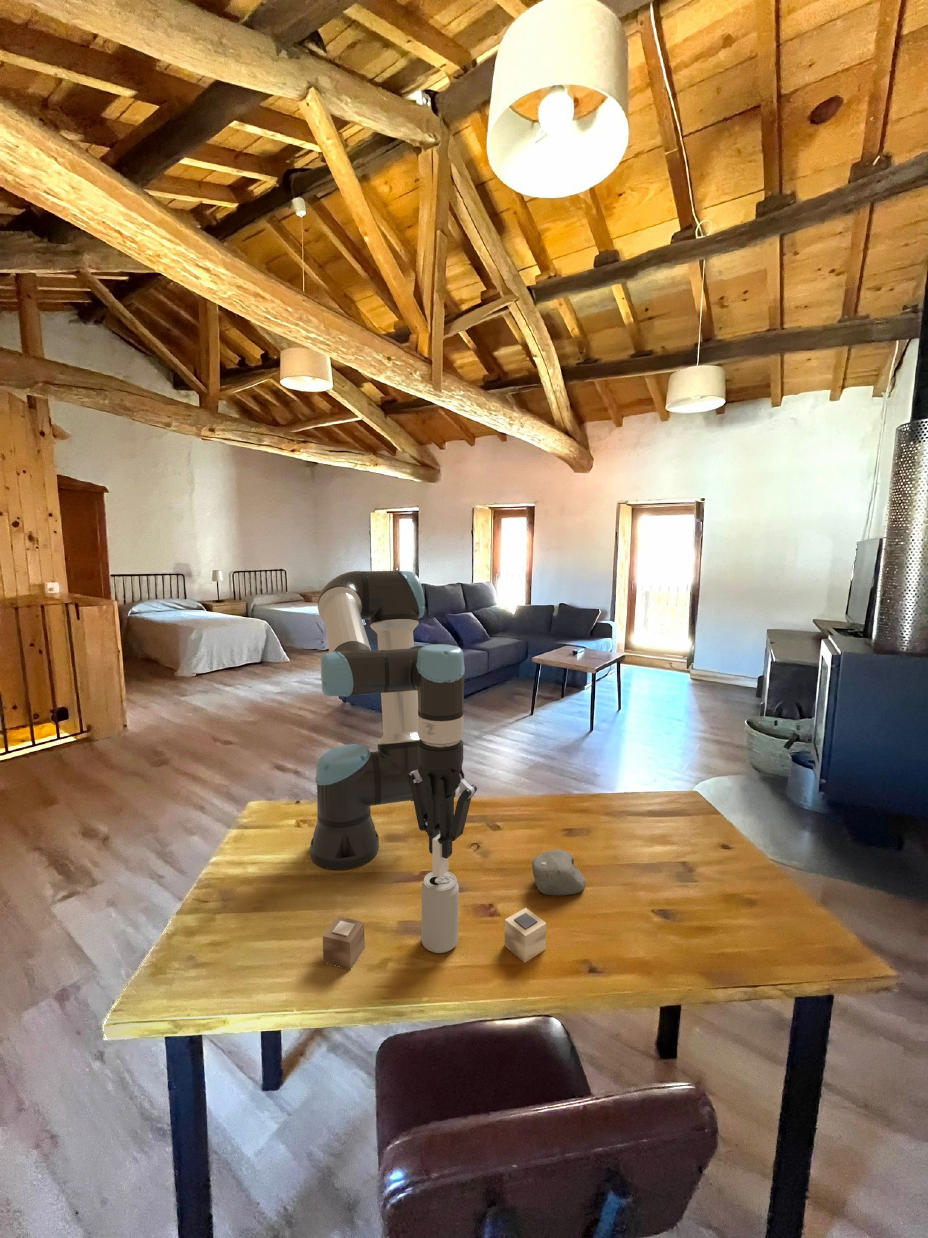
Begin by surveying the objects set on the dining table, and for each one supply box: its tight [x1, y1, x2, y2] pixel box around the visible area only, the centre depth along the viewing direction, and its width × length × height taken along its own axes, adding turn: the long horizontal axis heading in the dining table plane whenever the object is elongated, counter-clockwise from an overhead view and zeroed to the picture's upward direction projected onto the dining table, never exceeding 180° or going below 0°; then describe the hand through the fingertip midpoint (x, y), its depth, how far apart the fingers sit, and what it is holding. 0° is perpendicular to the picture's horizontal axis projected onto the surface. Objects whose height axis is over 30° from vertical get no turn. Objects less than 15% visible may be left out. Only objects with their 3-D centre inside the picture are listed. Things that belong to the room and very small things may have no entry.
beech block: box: [503, 907, 547, 964], centre depth 93 cm, size 5×5×5 cm
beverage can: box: [420, 870, 460, 954], centre depth 93 cm, size 6×6×12 cm
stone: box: [531, 849, 587, 896], centre depth 110 cm, size 9×9×10 cm
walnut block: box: [322, 915, 366, 971], centre depth 91 cm, size 5×5×5 cm
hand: (440, 872), depth 92 cm, fingers closed
